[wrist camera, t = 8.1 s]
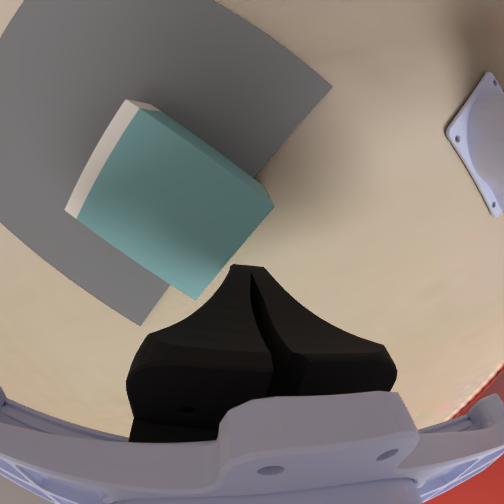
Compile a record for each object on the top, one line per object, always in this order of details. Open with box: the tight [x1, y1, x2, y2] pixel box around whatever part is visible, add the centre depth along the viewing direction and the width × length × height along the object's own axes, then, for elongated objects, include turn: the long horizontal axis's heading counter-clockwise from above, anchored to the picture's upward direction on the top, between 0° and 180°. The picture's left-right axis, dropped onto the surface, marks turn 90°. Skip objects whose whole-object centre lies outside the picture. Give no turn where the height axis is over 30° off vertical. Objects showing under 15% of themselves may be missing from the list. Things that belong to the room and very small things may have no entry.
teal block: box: [65, 99, 274, 300], centre depth 14 cm, size 4×6×8 cm
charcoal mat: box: [0, 0, 332, 326], centre depth 14 cm, size 22×20×1 cm
